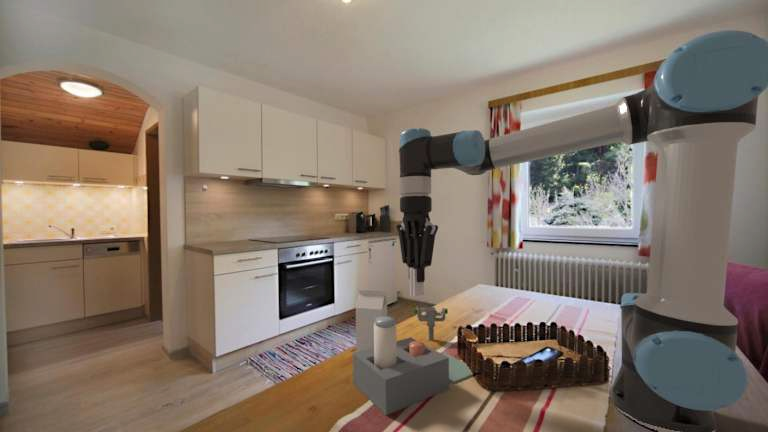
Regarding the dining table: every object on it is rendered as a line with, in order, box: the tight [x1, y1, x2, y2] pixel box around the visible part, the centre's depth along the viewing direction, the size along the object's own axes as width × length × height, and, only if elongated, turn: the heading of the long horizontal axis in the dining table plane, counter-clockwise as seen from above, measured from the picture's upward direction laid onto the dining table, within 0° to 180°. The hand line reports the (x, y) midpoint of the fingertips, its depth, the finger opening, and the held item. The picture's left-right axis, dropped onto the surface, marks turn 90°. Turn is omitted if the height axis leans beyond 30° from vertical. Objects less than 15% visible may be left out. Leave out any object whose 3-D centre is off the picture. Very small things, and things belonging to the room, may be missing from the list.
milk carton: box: [355, 289, 388, 353], centre depth 84 cm, size 7×7×19 cm
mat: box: [442, 352, 474, 384], centre depth 79 cm, size 12×9×1 cm
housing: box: [352, 337, 450, 416], centre depth 71 cm, size 14×17×7 cm
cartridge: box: [374, 315, 397, 370], centre depth 69 cm, size 5×5×16 cm
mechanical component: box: [413, 306, 448, 342], centre depth 97 cm, size 3×10×10 cm, turn 89°
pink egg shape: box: [409, 340, 426, 357], centre depth 73 cm, size 4×4×8 cm
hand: (416, 294), depth 73 cm, fingers closed
